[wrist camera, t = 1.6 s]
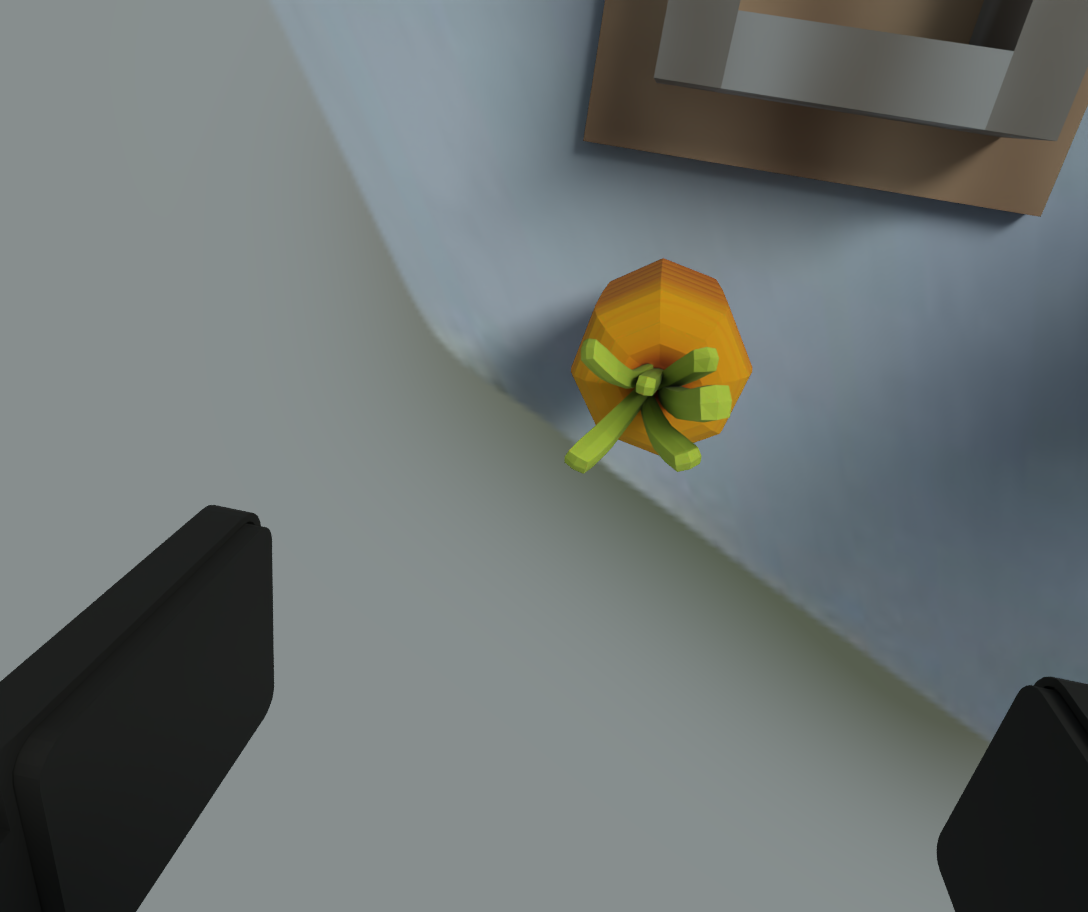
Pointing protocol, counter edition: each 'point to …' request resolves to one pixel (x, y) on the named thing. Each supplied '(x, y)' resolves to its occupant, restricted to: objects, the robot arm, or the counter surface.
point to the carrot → (658, 365)
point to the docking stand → (852, 90)
